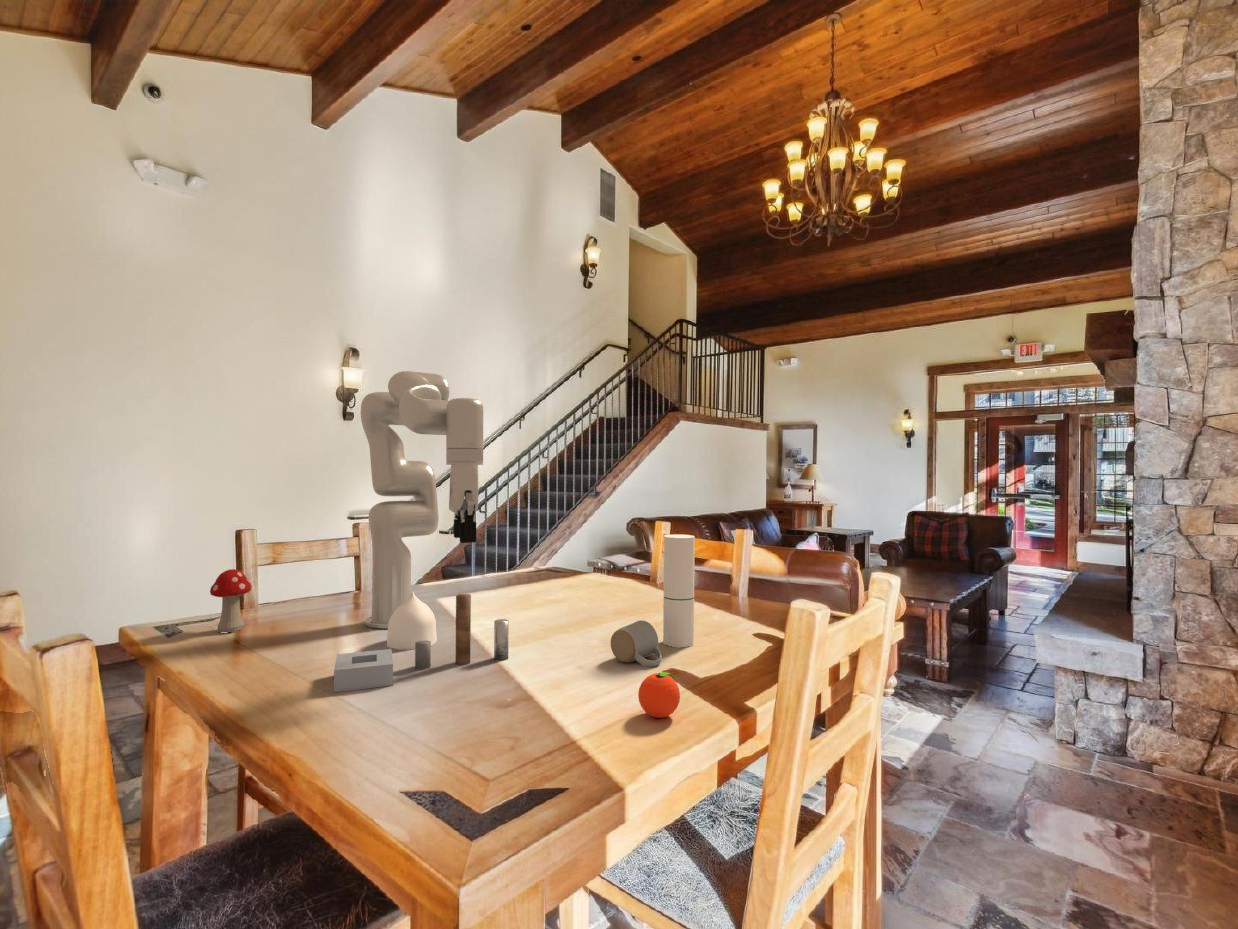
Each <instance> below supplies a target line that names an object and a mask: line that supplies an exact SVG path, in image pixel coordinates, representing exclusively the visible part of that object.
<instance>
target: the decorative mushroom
mask: <svg viewBox="0 0 1238 929" xmlns="http://www.w3.org/2000/svg"><path fill="white" fill-rule="evenodd" d="M252 588H253V587H252V584H251V582H250V581H249V580H248V578H247V577H246V574H244V573H243V572H242V571H241V570H239V569H234V568H232V569H227V570H224V571H223V572H221V573H220V574H219V575H218V576H217V577H216V579H215V582H214V583H213V584H212V586H211V587H210V590H209V593H210V594H209V595H211V596H213V597H216V598H222V602H221V603H222V604H221V605H222V606H221V614H220V618H219V622H218V624H217V630H218V633H219V632H234V633H236V632H235V631H238V630H240V629H242V630H243V628H244V624H245V622H244V620H243V618H242V613H241V605H240V604H241V603H240V602H241V601H240V600H241V599H240V598H241V597H240V596H244V595H246V594H248V593H250V592H251V591H252ZM242 627H243V628H242ZM240 631H241V630H240ZM238 632H239V631H238Z"/></svg>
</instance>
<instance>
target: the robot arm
mask: <svg viewBox="0 0 1238 929" xmlns="http://www.w3.org/2000/svg"><path fill="white" fill-rule="evenodd" d="M387 389H388V390H387V391H376V392H375V391H374V392H372V393H368V394H366V395H365V396H364V398H362V401H361V404H360V421H361V424H362V425H361V426H362V428H363V431H364V434H365V436H366V440H367V443H368V446H369V456H370V458H369V460H370V470H371V472H370V473H371V482H372V488H373V491H374V492H375V494H377V495H378V496H381V497H413V498H414V500H390V501H389V500H388V501H381V502H378V503H376V504H374V505H373V506H372V507H371V508H370V509H369V512H368V525H369V532H370V538H371V562H372V563H371V567H372V568H371V575H372V576H371V616H369V617H366V619H365V621H364V624H365V626H366V627H368V628H373V629H388V623H389V620H390V618H391V616H392V614H393V613H394V611H395V610H396V609H397V608H398V607H399V606H401V605H402V604H403V603H404V602H405V601H406V600H407V599H408V598H409V597H410V595H411V593H412V554H411V551H410V549H409V547H408V546H407V545H406V543H405V542H404V541H403V538H409V537H412V538H413V537H423V536H430V535H432V534H434V533H435V532H436V531H437V529H438V526H439V507H438V506H439V505H438V494H437V492H438V491H437V483H436V476H435V472H434V470H433V467H432V466H431V464H429V463H428V462H426V461H422V460H407V459H406V457H405V448H404V443H403V442H404V441H403V440H402V438H401V437H400V436H399V434H397V432H396V431H395V430H394V429H393V428H392V427H391V425H392V426H404V427H406V428H407V429H408V430H410V431H411V432H414V433H415V434H419V435H427V436H428V435H429V436H430V435H431V436H433V435H434V436H435V435H437V436H446V437H445V438H446V440H445V441H446V442H445V445H446V447H445V448H446V449H445V450H446V452H445V456H446V457H445V460H446V462H445V463H446V464H445V465H446V466H450V471H449V472H450V473H449V493H448V494H449V496H448V498H449V499H448V510H449V511H451V512H452V513H454V518H453V537H454V538H455V539H459V543H461V544H466V543H468V544H469V543H470V544H471V543H472V544H473V543H476V542H477V519H476V518H477V517H476V516H477V515H476V512H477V511H478V509H479V466H483V465H484V405H483V403H482V401H480V400H479V399H477V398H476V399H475V398H469V397H459V398H456V397H455V398H452V399H449V397H450V387H449V383H448V381H447V380H446V378H445V377H443V376H442V375H440V374H437V373H429V372H419V371H413V370H411V371H410V370H409V371H408V370H406V371H405V370H404V371H398V372H397V373H395V374H393V375H392V376H391V377H390V379H389V380H388V383H387Z"/></svg>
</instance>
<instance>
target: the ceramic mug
mask: <svg viewBox="0 0 1238 929" xmlns="http://www.w3.org/2000/svg"><path fill="white" fill-rule="evenodd" d="M610 649H611V651H612V654H613V655H614V657H615V658H616V659H617V660H618V661H619V662H621V663H625V664H626V663H627V664H628V663H633V662H635V661H636V662H638V663H639V664H641V665H642V666H644V667H649V668H650V667H651V668H654V667H653V666H655V667H657V665H658V666H659V665H660V663H661V661H662V658H663V656H662V653H661V650H659V636H658V633H657V631H656V629H655V628H654V626H653V625H652V624H651V623H650V622H649V621H647V620H637V621H635V622H633V623H630V624H628V625H626V626H622V627H620V628H618V629H617V630H616V631H614V632H613V633H612V635H611V638H610ZM653 655H655V657H657V659H656V660H649V659H647V658H648V657H651V656H653Z"/></svg>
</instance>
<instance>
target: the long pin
mask: <svg viewBox="0 0 1238 929" xmlns="http://www.w3.org/2000/svg"><path fill="white" fill-rule="evenodd" d="M471 597H472V595H471V594H468V593H460V594H459V593H458V594H457V595H455V660H454V661H455V665H458V666H459V665H460V666H463V665H468V664H471V631H472V630H471V629H472V627H471V626H472V624H471V623H472V618H471V617H472V612H471V611H472V610H471V609H472V598H471Z"/></svg>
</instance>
